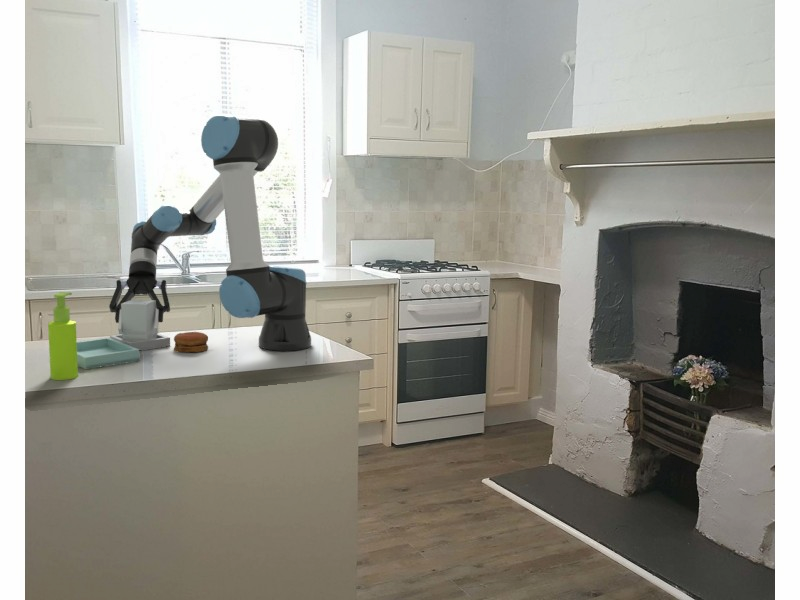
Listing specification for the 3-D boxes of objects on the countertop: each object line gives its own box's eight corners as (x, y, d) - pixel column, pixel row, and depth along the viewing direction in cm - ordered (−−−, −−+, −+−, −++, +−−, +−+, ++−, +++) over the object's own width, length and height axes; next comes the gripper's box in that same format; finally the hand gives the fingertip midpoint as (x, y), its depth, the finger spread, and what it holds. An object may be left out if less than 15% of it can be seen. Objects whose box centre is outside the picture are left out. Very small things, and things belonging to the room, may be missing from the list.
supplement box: (158, 343, 208) (157, 300, 206) (147, 349, 201) (146, 304, 199) (133, 341, 208) (132, 298, 206) (121, 347, 201) (120, 303, 199)
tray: (139, 360, 188) (139, 349, 187) (85, 369, 178) (85, 357, 177) (109, 348, 200) (109, 337, 200) (57, 355, 190) (56, 344, 190)
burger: (209, 352, 199) (209, 336, 199) (174, 354, 196) (174, 337, 196) (207, 345, 208) (206, 329, 208) (173, 346, 205) (173, 330, 205)
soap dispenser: (83, 372, 175) (80, 291, 172) (71, 380, 168) (68, 295, 165) (59, 372, 175) (55, 290, 172) (46, 379, 168) (42, 295, 165)
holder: (170, 346, 205) (170, 337, 204) (129, 352, 196) (129, 343, 196) (150, 338, 213) (149, 330, 212) (110, 344, 204) (109, 335, 204)
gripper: (181, 275, 219) (179, 337, 206) (105, 275, 214) (98, 339, 201) (180, 259, 213) (178, 323, 200) (102, 259, 208) (94, 324, 195)
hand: (138, 331), depth 201 cm, fingers closed on supplement box, 9 cm apart
